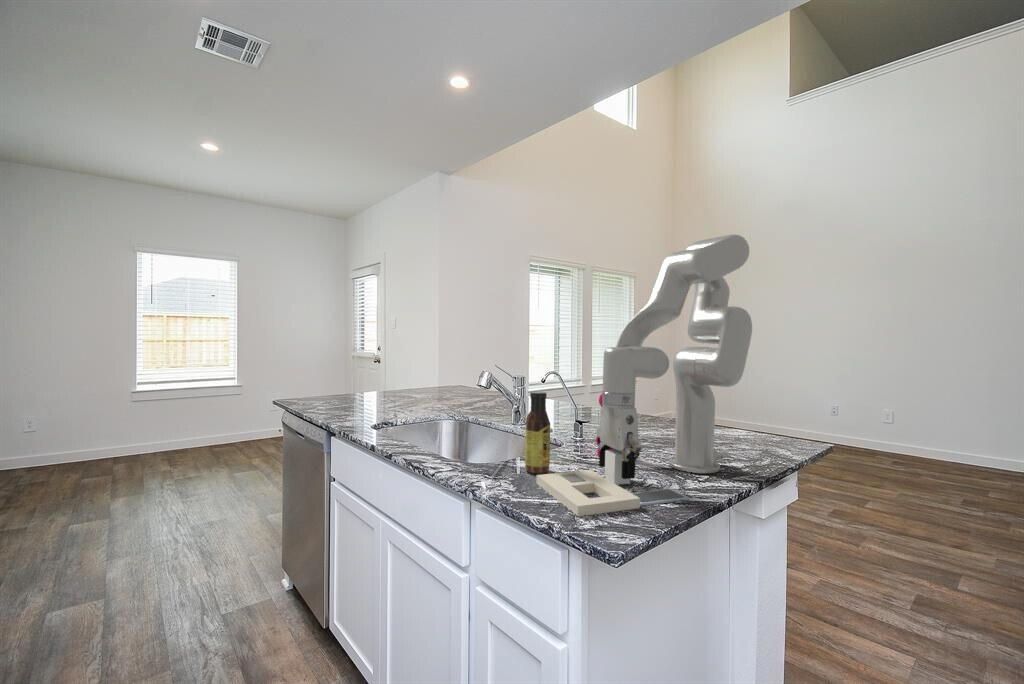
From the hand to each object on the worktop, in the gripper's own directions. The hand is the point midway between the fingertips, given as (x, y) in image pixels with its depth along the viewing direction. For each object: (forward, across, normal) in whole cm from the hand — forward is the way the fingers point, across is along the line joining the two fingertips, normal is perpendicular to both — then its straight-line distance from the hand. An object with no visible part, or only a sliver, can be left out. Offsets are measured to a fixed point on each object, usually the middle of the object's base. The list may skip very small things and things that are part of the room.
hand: (616, 472), depth 110 cm
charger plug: (+2, 0, 0) cm, 2 cm away
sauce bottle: (+3, +13, +15) cm, 20 cm away
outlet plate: (+2, -6, +12) cm, 13 cm away
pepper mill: (+2, +20, -10) cm, 23 cm away
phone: (+3, -12, -2) cm, 12 cm away
